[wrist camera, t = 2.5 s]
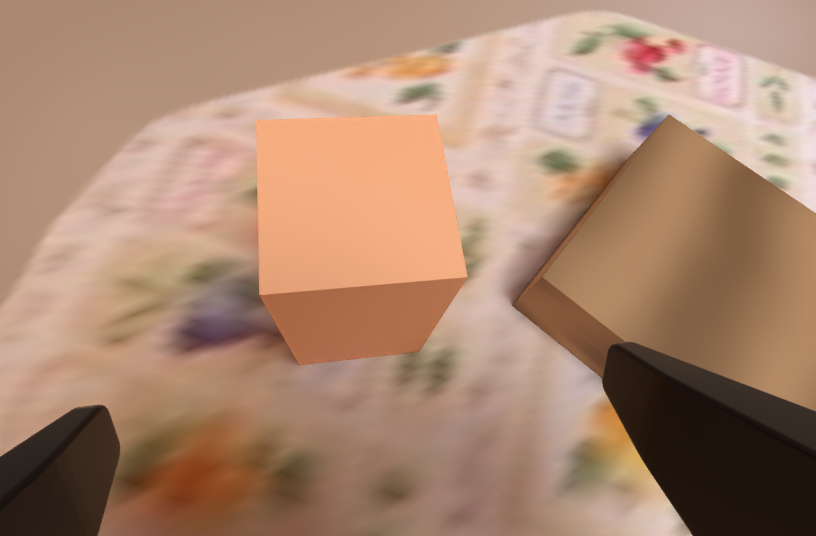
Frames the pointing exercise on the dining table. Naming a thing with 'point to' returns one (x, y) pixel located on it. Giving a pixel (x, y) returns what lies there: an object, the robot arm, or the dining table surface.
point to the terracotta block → (355, 234)
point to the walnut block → (688, 269)
